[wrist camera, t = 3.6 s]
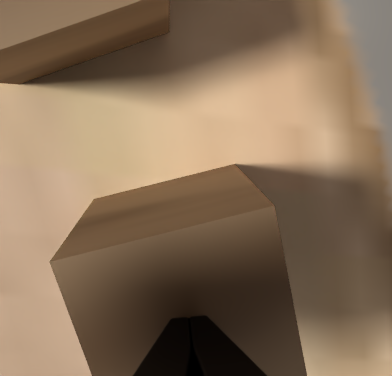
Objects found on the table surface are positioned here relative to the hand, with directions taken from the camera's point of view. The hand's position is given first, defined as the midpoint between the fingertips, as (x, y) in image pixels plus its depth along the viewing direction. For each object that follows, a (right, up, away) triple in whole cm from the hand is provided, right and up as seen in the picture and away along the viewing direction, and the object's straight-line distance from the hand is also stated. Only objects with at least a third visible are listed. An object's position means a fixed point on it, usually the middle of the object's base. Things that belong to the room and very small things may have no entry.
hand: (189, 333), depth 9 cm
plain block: (0, +1, +5) cm, 5 cm away
